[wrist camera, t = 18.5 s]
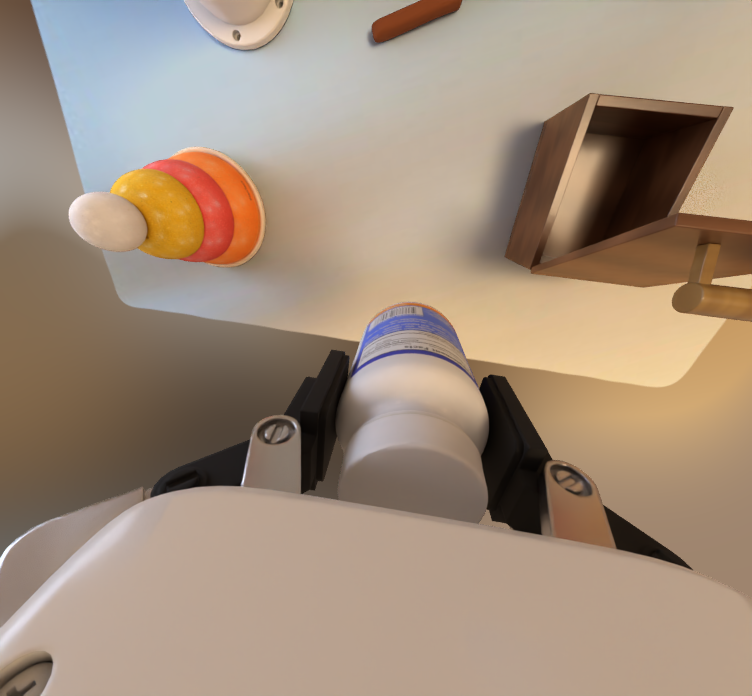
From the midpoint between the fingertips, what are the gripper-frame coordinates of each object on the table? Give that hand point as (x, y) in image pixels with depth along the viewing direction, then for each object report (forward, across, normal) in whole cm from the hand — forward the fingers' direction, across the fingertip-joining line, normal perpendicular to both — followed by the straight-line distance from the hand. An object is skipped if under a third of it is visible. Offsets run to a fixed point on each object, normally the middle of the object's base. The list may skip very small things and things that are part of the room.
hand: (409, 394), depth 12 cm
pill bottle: (+5, 0, 0) cm, 5 cm away
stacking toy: (+32, +26, -3) cm, 41 cm away
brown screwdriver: (+32, 0, -25) cm, 40 cm away
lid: (+15, -18, -6) cm, 24 cm away
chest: (+31, -18, -10) cm, 38 cm away
